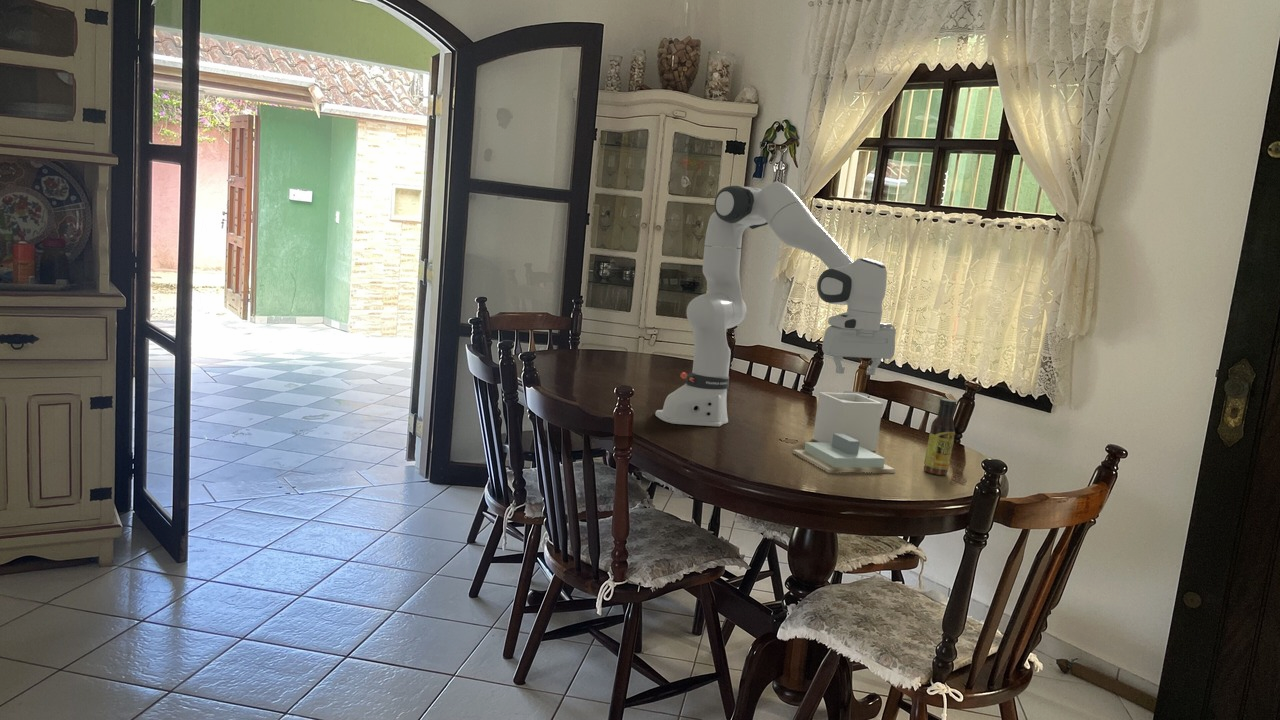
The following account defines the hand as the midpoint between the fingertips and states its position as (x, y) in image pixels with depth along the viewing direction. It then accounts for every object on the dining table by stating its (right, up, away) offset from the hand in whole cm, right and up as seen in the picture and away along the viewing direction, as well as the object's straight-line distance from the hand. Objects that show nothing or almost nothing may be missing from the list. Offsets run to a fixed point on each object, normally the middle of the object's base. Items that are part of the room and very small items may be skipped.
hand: (855, 373), depth 222 cm
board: (-2, -24, +4) cm, 24 cm away
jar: (+10, -19, +44) cm, 49 cm away
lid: (-2, -23, +4) cm, 23 cm away
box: (+3, -21, +25) cm, 32 cm away
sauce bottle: (+22, -27, +3) cm, 35 cm away
